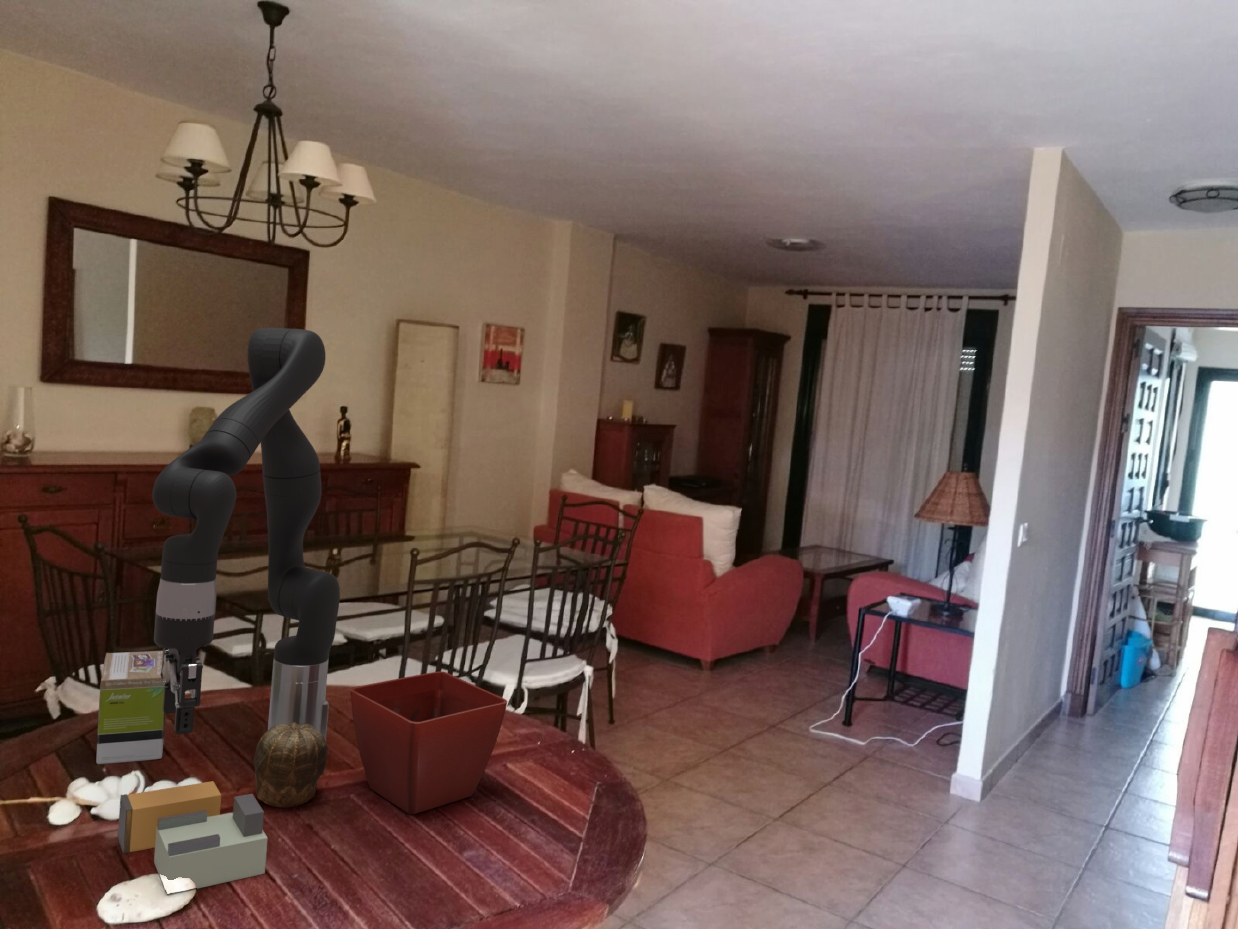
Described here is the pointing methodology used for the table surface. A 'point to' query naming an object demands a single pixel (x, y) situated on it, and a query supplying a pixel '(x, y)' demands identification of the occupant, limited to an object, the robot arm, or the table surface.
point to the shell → (289, 764)
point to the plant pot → (425, 737)
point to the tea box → (131, 708)
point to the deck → (213, 844)
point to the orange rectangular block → (161, 811)
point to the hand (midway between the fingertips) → (177, 722)
